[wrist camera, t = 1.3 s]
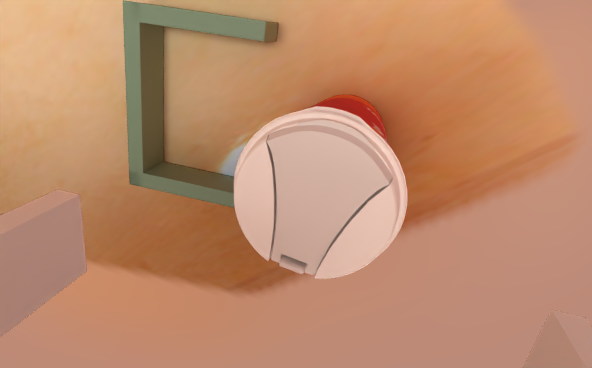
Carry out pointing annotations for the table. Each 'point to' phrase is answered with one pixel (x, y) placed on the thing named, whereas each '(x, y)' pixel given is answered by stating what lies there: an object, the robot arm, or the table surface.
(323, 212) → the paper cup
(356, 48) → the table surface
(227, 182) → the green pocket
